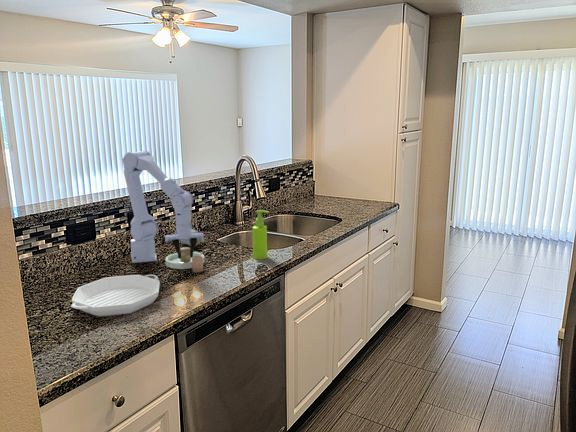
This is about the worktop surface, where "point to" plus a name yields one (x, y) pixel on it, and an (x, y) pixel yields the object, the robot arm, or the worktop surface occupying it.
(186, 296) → the worktop surface
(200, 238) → the ceramic mug
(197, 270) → the peach rounded oval piece
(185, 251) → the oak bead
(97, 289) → the pan
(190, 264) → the groove tray
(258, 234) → the soap dispenser
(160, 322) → the worktop surface
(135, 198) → the robot arm
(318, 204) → the worktop surface
